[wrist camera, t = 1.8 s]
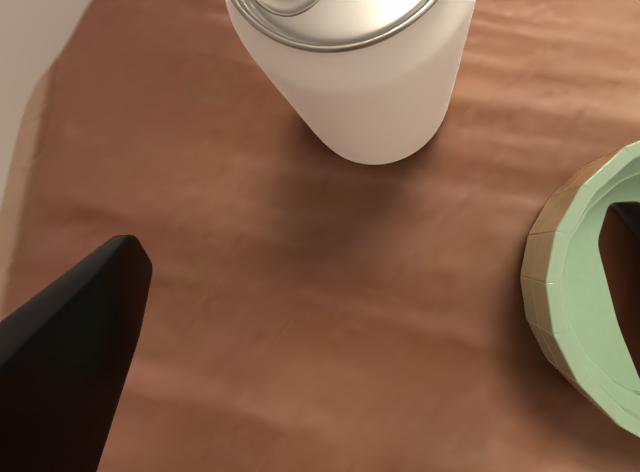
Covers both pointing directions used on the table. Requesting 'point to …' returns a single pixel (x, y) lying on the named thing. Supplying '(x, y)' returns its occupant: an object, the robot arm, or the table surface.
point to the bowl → (583, 287)
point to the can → (360, 67)
